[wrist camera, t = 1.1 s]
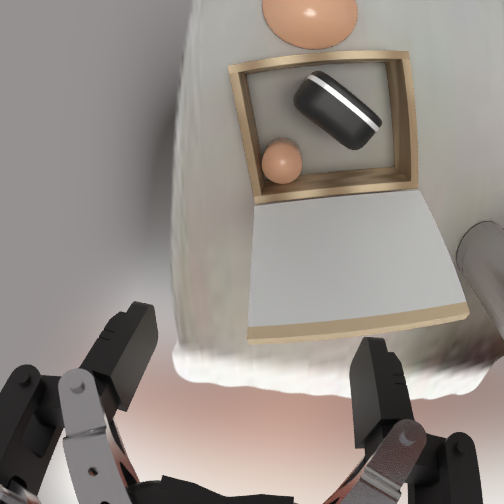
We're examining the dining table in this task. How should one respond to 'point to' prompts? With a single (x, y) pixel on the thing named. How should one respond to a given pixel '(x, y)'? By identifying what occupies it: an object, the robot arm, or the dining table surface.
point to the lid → (349, 269)
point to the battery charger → (336, 110)
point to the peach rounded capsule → (282, 161)
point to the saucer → (311, 21)
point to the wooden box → (337, 181)
